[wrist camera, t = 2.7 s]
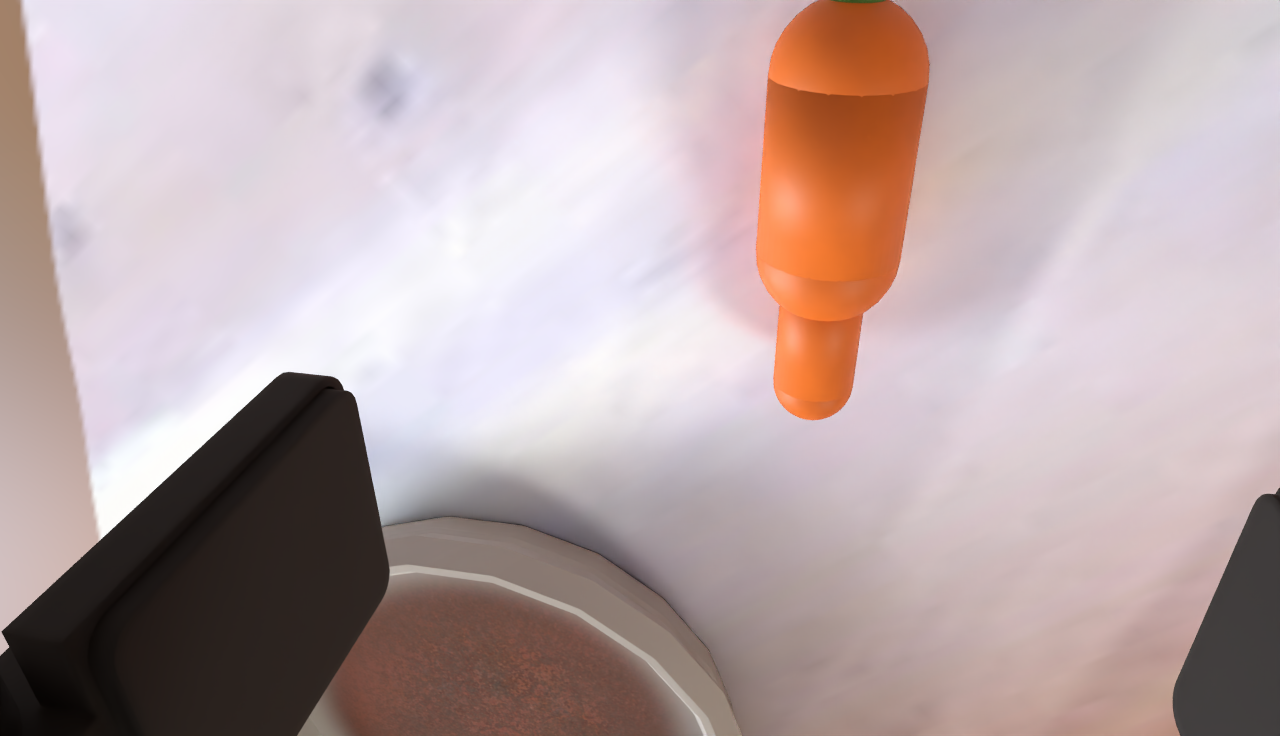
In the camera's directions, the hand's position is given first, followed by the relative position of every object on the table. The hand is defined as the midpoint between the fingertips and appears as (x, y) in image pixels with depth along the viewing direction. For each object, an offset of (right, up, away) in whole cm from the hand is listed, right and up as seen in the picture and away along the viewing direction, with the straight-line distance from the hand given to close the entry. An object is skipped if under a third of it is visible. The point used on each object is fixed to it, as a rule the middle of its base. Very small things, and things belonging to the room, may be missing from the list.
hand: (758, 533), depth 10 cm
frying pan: (-1, -12, +22) cm, 25 cm away
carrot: (+3, +6, +10) cm, 12 cm away
